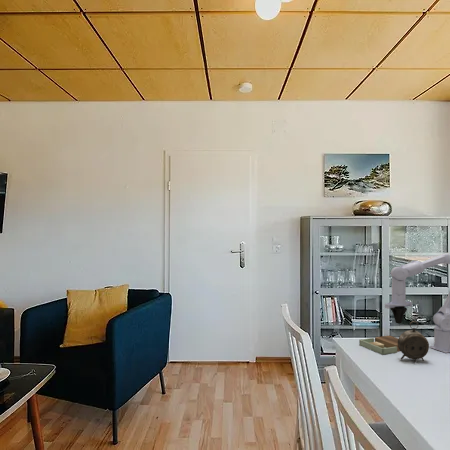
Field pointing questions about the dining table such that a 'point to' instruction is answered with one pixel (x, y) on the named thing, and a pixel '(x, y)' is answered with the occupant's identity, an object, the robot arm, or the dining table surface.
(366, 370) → the dining table surface
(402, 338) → the alarm clock
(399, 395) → the dining table surface
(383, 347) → the maple tile
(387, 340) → the walnut board
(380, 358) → the dining table surface
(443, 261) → the robot arm
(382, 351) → the sage tray
